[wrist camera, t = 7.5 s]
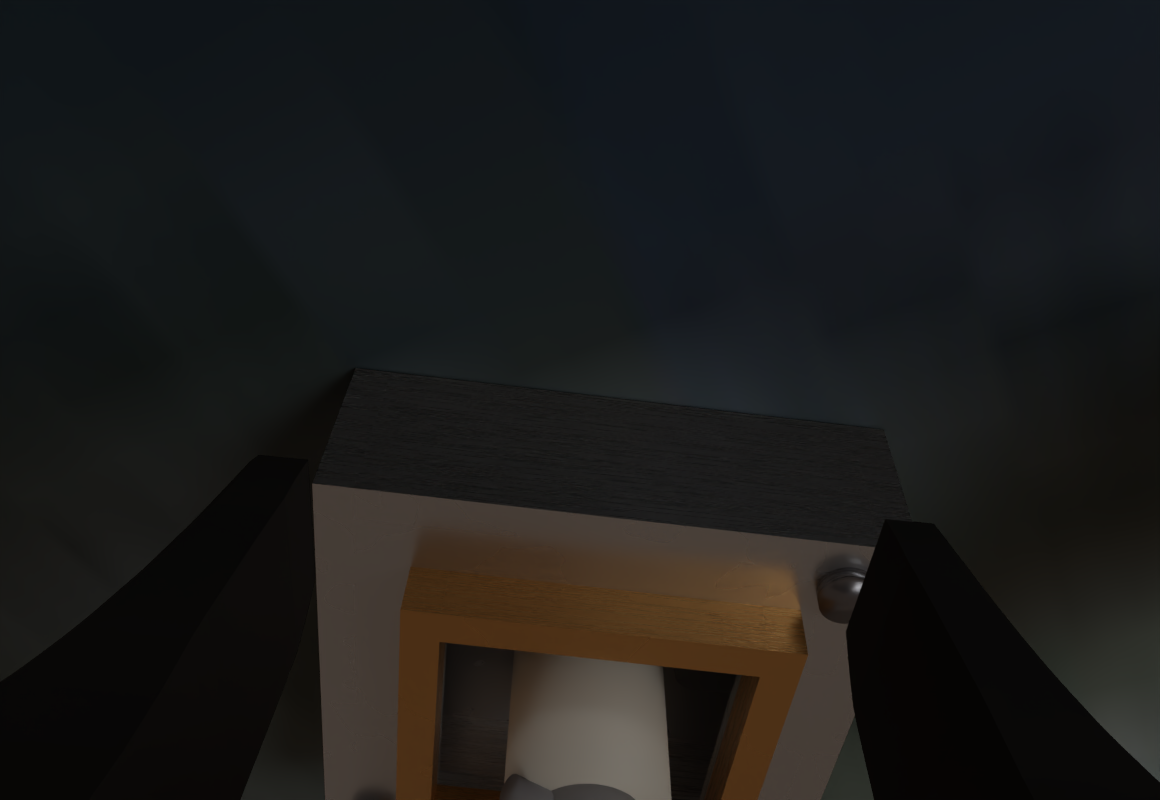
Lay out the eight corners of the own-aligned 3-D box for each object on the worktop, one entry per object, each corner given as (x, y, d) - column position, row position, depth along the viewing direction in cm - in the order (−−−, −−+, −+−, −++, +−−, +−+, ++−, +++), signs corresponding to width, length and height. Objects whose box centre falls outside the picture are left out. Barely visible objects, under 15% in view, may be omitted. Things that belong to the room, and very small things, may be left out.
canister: (687, 598, 28) (710, 837, 22) (599, 671, 29) (600, 909, 24) (569, 529, 26) (562, 765, 21) (483, 610, 28) (457, 847, 23)
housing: (884, 429, 25) (934, 597, 21) (771, 754, 32) (791, 929, 28) (355, 368, 24) (297, 525, 20) (358, 710, 31) (315, 880, 27)
